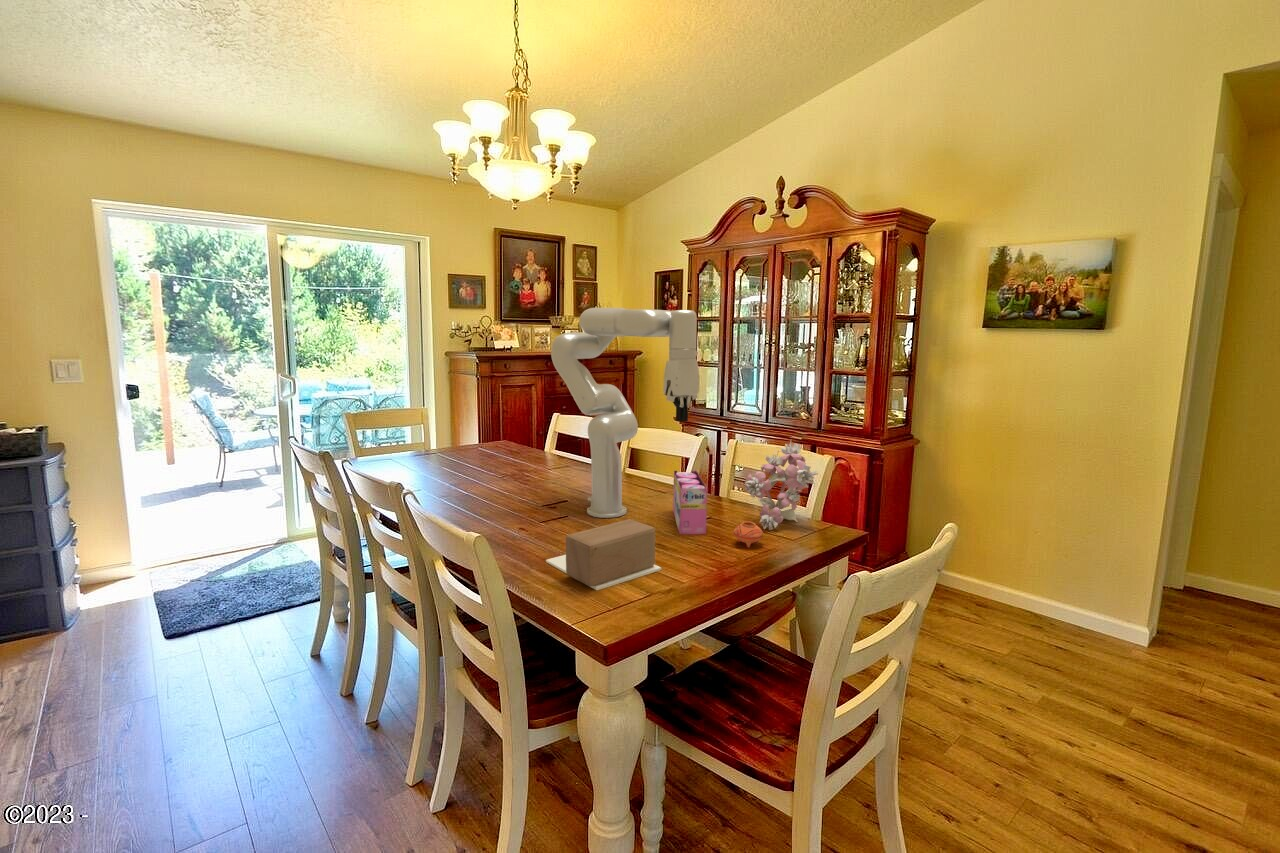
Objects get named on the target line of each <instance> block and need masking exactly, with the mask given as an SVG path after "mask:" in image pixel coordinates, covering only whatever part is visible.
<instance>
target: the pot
mask: <svg viewBox="0 0 1280 853" xmlns="http://www.w3.org/2000/svg"><path fill="white" fill-rule="evenodd" d="M732 534H733V536H735V538H736V540H737V542H738V543H740V542H742V543H744V544H745V546H746V548H747V547H748V548H750V547H751V544H754V543H755V544H759V542H760V540H761V539H762V538H763V537H764V532H763V530H762V529H761V527H760V526H759V525H757V524H756V523H755V522H752V521H749V520H748V521H745V520H744V521H743V522H741V523H740V524H738V525H736V526H735V528H734V529H733V533H732ZM748 548H747V549H748Z"/></svg>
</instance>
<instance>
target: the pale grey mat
mask: <svg viewBox="0 0 1280 853" xmlns="http://www.w3.org/2000/svg"><path fill="white" fill-rule="evenodd" d="M545 563H547V564H549V565H550V566H552V567H554V568H556V569H557V570H560V571H561V572H563V573H565V574H566V575H567V572H566V554H563V555H558V556H555V557H551V558H548V559H545ZM659 571H662V566H661V567H660V566H658V565H657V564H656V563H655V564H654V565H653V566H651V567H648V568H645V569H642V570H639V571H636V572H633V573H630V574H627V575H624V576H621V577H618V578H615V579H612V580H609V581H606V582H603V583H600V584H597V585H594V586H589V587H590V588H591V589H593V590H595V591H599V590H603V589H606V588H609V587H612V586H615V585H619V584H621V583H625V582H629V581H631V580H634V579H638V578H640V577H643V576H647V575H649V574H652V573H657V572H659Z"/></svg>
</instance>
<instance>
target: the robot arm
mask: <svg viewBox="0 0 1280 853" xmlns="http://www.w3.org/2000/svg"><path fill="white" fill-rule="evenodd" d="M697 320H698V318H697V312H695V310H692V309H691V310H690V309H677V310H669V309H668V310H663V309H652V308H651V309H644V308H643V309H641V308H640V309H639V308H638V309H637V308H636V309H634V308H632V309H627V308H625V307H589V308H587V309H585V310H584V311H583V312H582V313H581V314H580V316H579V319H578V323H579V327H580V329H581V330H582V331H583V332H577V331H575V332H574V331H573V332H565V333H561V334H559V335H557V336H556V337H555V338H554V339H553V341H552V344H551V348H550V349H551V350H550V356H551V360H552V364H553V367H554V368H555V370H556V371H557V373H558V374H559V376H560V377H561V378H562V380H563V382H564V383H565V385H566V387H567V388H568V390H569V393H570V395H571V396H572V397H573V398H572V399H573V400H574V401H575V403H576V405H577V407H578V409H579V410H580V411H581V413H582V414H584V415H585V416H595V417H593V418H591V419H590V421H589V423H588V426H587V436H588V441H589V446H590V455H591V456H590V459H591V460H590V462H591V463H590V464H591V496H590V497H587V501H588V502H590V505H589V507H587V508H586V513H587V515H589V516H591V517H595V518H600V519H603V518H604V519H609V518H611V519H612V518H617V517H621V516H624V515H626V514H627V513H628V512H627V510H628V509H627V507H626V506H624V505H623V499H622V498H623V493H622V492H623V489H622V488H623V487H622V486H623V482H622V481H623V477H622V475H623V472H622V470H623V468H622V462H623V461H622V454H621V451H620V449H619V447H618V443H622V442H626V441H629V440H631V439H633V438H635V436H636V435H637V433H638V431H639V424H638V421H637V420H638V419H637V418H636V416H635V414H634V412H633V411H632V408H631V406H630V405H629V404H628V402H627V400H626V398H625V396H624V395H623V393H622V392H621V390H620V389H619V388H618V387H617V386H615V385H614V384H609V383H602V384H599V383H597V382H596V380H595V379H594V377H593V376H592V374H591V372H590V370H589V369H588V368H587V367H586V366H585V365H584V364H583V363H581V362H580V361H579V360H585V359H594V358H597V357H599V356H600V355H601V354H602V353H603V352H604V351H605V350H607V349H606V348H608V347H609V345H610V344H611V343H612V342H613V341H614V339H615V338H617V337H618V338H619V337H620V338H624V337H638V338H639V337H641V338H656V337H657V338H666V337H667V338H669V340H668V341H669V342H668V343H669V344H668V347H669V348H668V360H666V362H665V368H664V374H663V375H664V376H663V386H662V387H663V388H662V390H663V391H662V392H663V395H665V396H666V401H667V402H671V403H673V406H674V407H675V420H676V421H677V422H688V421H689V407H690V406H691V403H692V401H694V400H697V398H698V394H699V392H700V374H699V372H700V370H699V363H698V360H697V356H698V351H697V329H698V328H697V325H698V324H697Z"/></svg>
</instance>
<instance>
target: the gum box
mask: <svg viewBox="0 0 1280 853" xmlns="http://www.w3.org/2000/svg"><path fill="white" fill-rule="evenodd" d="M672 495H673V497H672V498H673V500H672V501H673V502H672V503H673V504H672V507H673V508H672V510H673V516H674V519H675V523H676V526H677V531H678V533H679V535H706V534H707V517H708V516H707V513H708V512H707V510H708V488H707V485H706V484H705V483H704V481H703V479H702V477H701V476H700V474H699V472H698V471H697V470H692V471H691V472H687V471H684V472H683V471H680V472H678V471H677V470H674V471H673V494H672Z"/></svg>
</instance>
